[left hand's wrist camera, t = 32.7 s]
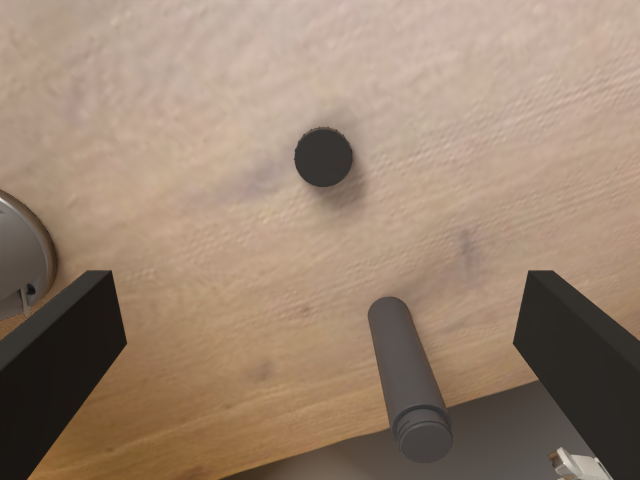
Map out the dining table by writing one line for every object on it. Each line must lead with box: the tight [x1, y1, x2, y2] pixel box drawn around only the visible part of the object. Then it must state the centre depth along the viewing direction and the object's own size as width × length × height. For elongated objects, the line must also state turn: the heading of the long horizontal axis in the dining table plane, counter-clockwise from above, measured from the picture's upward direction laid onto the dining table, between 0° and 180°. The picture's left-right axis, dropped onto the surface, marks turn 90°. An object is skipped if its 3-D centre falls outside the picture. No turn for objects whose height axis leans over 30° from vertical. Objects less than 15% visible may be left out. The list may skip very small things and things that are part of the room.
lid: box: [294, 127, 352, 187], centre depth 39 cm, size 6×6×2 cm
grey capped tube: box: [368, 297, 453, 463], centre depth 38 cm, size 5×5×18 cm
